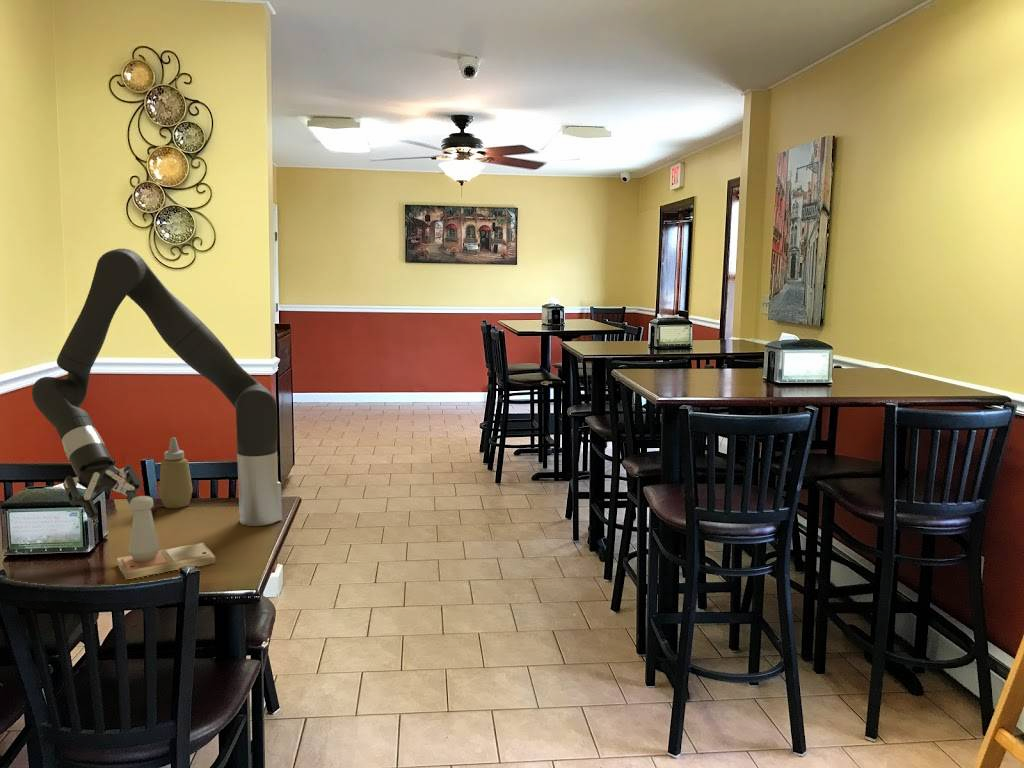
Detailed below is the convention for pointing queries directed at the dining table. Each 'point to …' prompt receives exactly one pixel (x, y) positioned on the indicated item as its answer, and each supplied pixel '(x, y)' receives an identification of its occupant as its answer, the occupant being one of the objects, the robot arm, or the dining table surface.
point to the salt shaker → (143, 530)
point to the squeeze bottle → (175, 478)
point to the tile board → (167, 560)
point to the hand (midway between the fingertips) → (116, 512)
